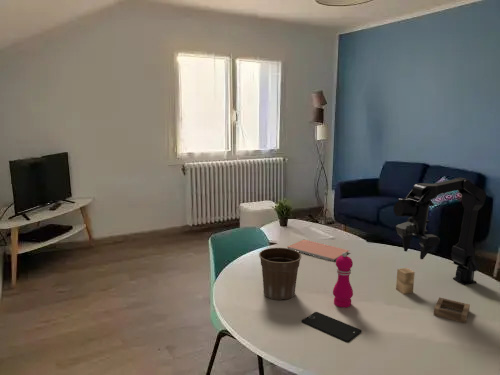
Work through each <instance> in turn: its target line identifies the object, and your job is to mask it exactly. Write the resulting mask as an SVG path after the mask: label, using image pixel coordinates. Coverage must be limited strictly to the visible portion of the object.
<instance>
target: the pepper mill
mask: <svg viewBox="0 0 500 375" xmlns="http://www.w3.org/2000/svg"><path fill="white" fill-rule="evenodd" d="M335 266H336V267H337V268H336V273H337V280H336V283H335V285H334V287H333V289H332V294H333V296H334V298H333V304H334V305H335V306H337V307H338V308H349V307H351V306H352V298H353V296H354V291H353V287H352V285H351V281H350V275H351V274H352V272H351V271H352V270H351V268H353V260H352V258H351V257H349V256H348V253H346V252H343V253H342V256H340V257H338V258H337V259H336V260H335Z"/></svg>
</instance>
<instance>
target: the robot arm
mask: <svg viewBox="0 0 500 375" xmlns="http://www.w3.org/2000/svg"><path fill="white" fill-rule="evenodd" d="M455 191H457V192H458V193H459V194H460V195H461V203H462V206H463V208H464V209H463V214H462V220H461V221H462V222H461V227H460V233H459V239H458V243H456V244H455V245H452V247H451V252H450V256H451V260H452V262H453V265H456V270H455V276H454V277H452V279H453V280H455V281H457V282H458V283H461V284H463V285H471V284H477V280H474V278H475V272H477V271H479V270H480V267H481V264H480V263H479V262H478V260H477V259H476V250H475V248H474V245H473V243H474V237H475V231H476V226H477V221H478V214H479V210H481V209H482V207H483V206H485V202H486V199H487V193H486V191H485V190H484V189H481V188H480V187H479V186H478V185H475V184H474V183H473V182H472V181H470V180H469V179H468V178H465V177H464V178H463V177H456V178H454V179H448V180H444V181H440V182H434V183H428V182H427V183H423V182H422V183H420V182H419V183H415V184H414V185H413V187H412V189H411V190H410V192H409V193H408V194H407V195H406V196H405V197H404V198H398V201H397V202H395V203H394V205H393V213H394V215H395V216H396V217H398V218H399V217H401V218H402V217H404V218H405V217H407V220H406V221H405V222H403V223H400V224H399V223H398V224H397V225H395V228H394V232H397V235H399V237H400V238H401V240H402V241H401V243H402V247H403V251H404V252H408V250H409V247H410V245H411V241H412V239H413V236H414V237H416V238H419V241H420V242H419V241H418V243H419V245H420V254H419V260H424V259H425V257H427V255H428V253H429V252H430V251H431V250H432V249H433V248H434V247H436V246H437V245H440V241H441V239H440V237H439V236H437V235H435V234H430V233H429V234H428V230H427V228H426V227H427V224H430V220H429V219H428V217H429V208H430V207H434V206H435V204H434V203H433V202H432V200H434V199H436V198H437V197H438V196H439V195H442V194H447V193H451V192H455Z"/></svg>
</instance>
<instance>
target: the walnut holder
mask: <svg viewBox="0 0 500 375" xmlns="http://www.w3.org/2000/svg"><path fill="white" fill-rule="evenodd" d="M470 306H471V305H470V304H468V303H464V302H460V301H455V300H451V299H447V298H444V297H443V298H442V297H440V296H439V297H438V299H437V301H436V304H435V305H434V308H433V315H434V316H437V317H439V318H444V319H447V320H448V319H449V320H451V321H456V322H460V323H463V324H466V323H467V318H468V316H469V313H470ZM446 308H448V309H446ZM450 309H452V310H450ZM454 310H456V311H454ZM459 311H460V312H459Z"/></svg>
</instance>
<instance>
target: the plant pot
mask: <svg viewBox="0 0 500 375" xmlns="http://www.w3.org/2000/svg"><path fill="white" fill-rule="evenodd" d="M258 256H259V258H260V266H261V272H262V273H261V274H262V275H261V276H262V287H263V288H262V289H263V294H264V296H265V295H266V296H265V297H266V298H269V299H271V298H272V299H271V300H275V299H276V300H277V301H282V300H285V299H286V300H289V299H291V298H294V296H295V295H296V294H295V293H296V286H297V279H298V278H297V277H298V270H299V267H300V263H301V260H302V253H299V252H297V251H295V250H292V249H288V247H270V248H266V249H263V250H261V251H260V252H259V253H258ZM294 294H295V295H294ZM276 300H275V301H276Z"/></svg>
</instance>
